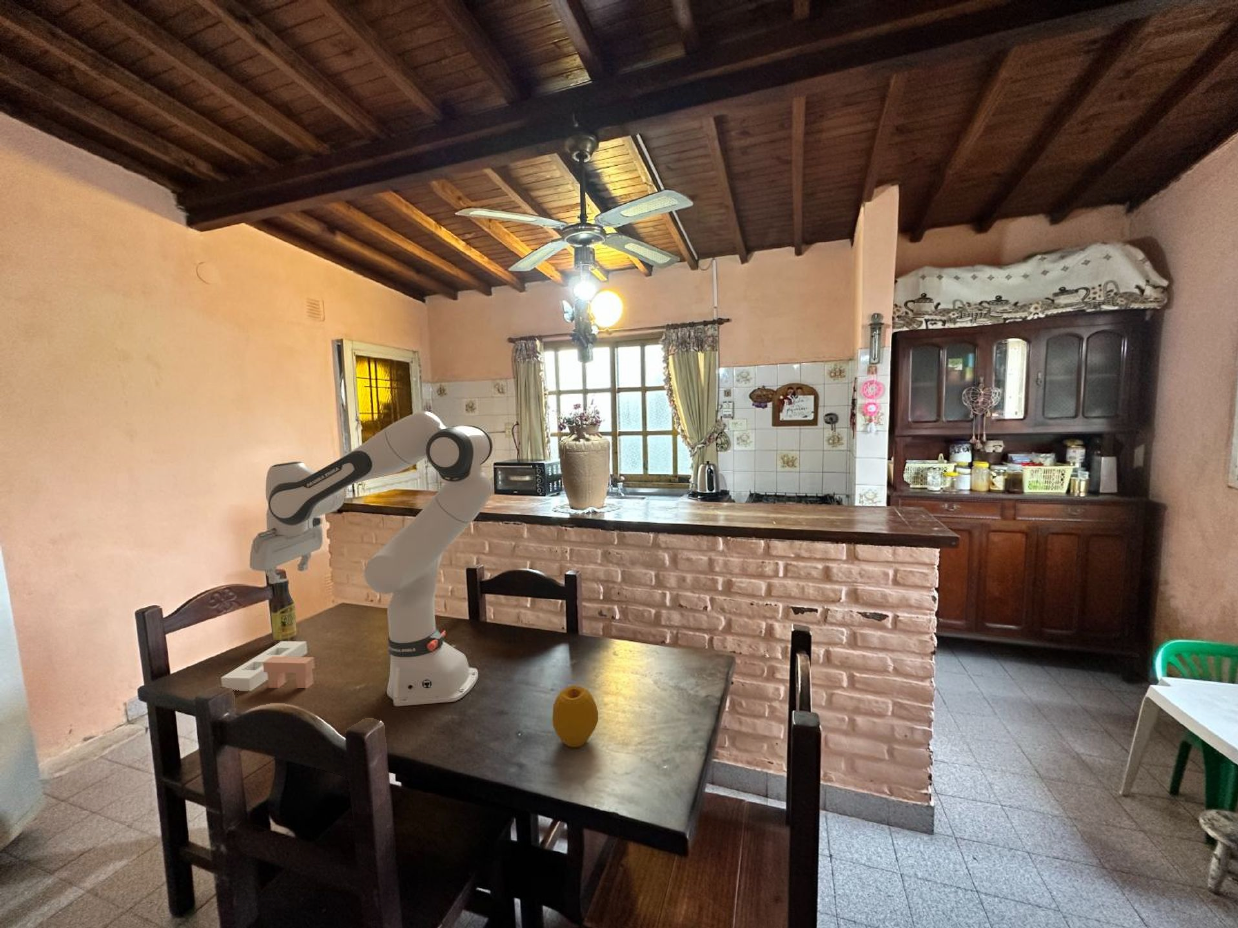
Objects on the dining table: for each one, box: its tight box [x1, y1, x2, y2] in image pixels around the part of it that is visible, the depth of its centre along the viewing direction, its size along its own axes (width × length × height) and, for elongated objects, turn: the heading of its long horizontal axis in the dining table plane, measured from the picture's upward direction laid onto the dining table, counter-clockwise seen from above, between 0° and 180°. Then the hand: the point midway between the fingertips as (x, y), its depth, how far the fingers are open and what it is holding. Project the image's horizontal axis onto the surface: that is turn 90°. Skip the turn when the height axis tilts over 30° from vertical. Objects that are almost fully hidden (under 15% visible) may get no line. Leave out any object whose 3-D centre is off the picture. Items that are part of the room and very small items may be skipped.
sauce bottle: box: [270, 578, 298, 645], centre depth 152 cm, size 7×6×20 cm
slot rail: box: [220, 640, 308, 692], centre depth 135 cm, size 8×20×4 cm, turn 174°
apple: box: [552, 685, 599, 748], centre depth 101 cm, size 10×10×12 cm
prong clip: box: [263, 656, 316, 690], centre depth 126 cm, size 3×12×7 cm, turn 84°
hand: (289, 576), depth 124 cm, fingers open, 8 cm apart
